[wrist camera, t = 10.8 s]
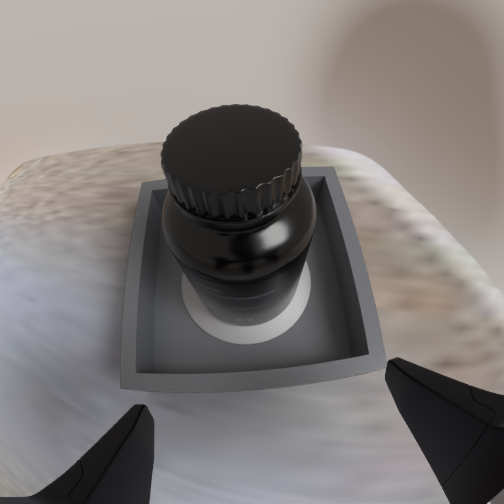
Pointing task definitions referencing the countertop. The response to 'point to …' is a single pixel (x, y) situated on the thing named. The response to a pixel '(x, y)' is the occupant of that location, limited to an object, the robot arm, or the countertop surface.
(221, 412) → the countertop surface
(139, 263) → the housing
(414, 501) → the countertop surface
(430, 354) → the countertop surface
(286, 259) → the supplement bottle
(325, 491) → the countertop surface
